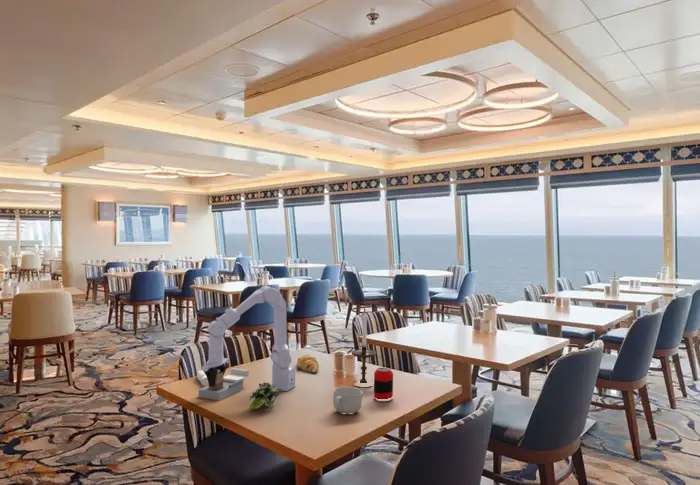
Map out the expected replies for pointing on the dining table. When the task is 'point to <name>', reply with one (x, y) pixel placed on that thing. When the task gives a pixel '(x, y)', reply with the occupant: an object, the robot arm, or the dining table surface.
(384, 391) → the soda can
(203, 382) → the binoculars
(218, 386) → the block
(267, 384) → the green leafy plant
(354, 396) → the teacup
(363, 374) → the candlestick
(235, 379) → the lid
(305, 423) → the dining table surface
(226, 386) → the housing
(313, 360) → the croissant
